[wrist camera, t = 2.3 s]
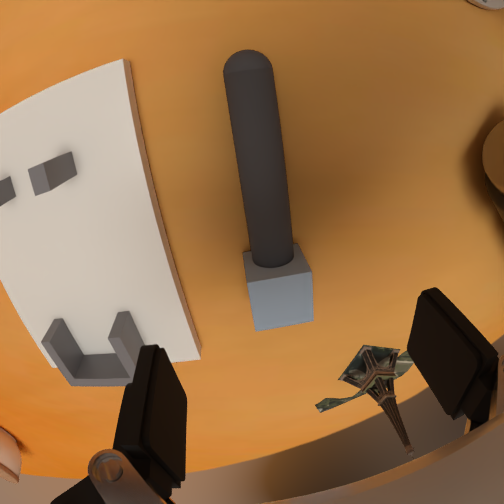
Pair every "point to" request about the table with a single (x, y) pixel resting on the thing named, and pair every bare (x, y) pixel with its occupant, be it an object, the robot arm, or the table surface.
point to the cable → (265, 197)
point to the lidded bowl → (9, 457)
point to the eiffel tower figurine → (376, 383)
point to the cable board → (88, 231)
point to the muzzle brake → (495, 166)
